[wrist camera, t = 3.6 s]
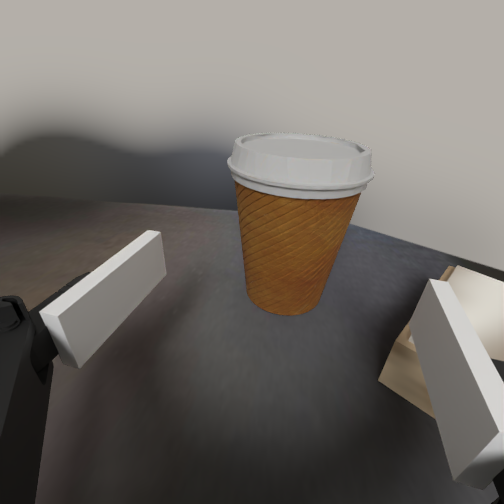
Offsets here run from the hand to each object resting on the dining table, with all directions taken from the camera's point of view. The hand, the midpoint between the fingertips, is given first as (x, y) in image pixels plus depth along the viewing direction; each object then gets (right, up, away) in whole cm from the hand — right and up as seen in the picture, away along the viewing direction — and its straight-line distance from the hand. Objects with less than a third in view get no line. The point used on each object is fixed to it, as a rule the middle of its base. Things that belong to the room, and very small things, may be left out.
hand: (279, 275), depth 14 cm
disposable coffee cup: (+1, -2, +10) cm, 11 cm away
